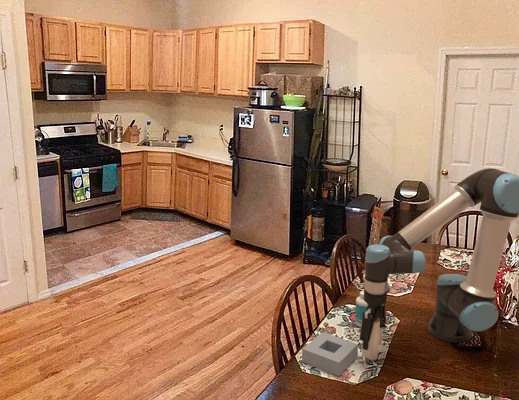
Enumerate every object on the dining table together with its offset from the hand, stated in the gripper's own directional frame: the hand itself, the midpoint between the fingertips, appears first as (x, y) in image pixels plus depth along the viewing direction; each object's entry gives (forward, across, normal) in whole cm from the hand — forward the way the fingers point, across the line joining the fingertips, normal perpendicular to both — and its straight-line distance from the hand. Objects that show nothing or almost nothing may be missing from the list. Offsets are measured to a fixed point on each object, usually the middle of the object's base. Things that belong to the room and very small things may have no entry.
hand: (372, 350), depth 164 cm
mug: (+3, -53, -23) cm, 58 cm away
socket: (+3, +10, -11) cm, 15 cm away
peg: (+3, 0, 0) cm, 3 cm away
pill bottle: (+3, -20, -12) cm, 23 cm away
